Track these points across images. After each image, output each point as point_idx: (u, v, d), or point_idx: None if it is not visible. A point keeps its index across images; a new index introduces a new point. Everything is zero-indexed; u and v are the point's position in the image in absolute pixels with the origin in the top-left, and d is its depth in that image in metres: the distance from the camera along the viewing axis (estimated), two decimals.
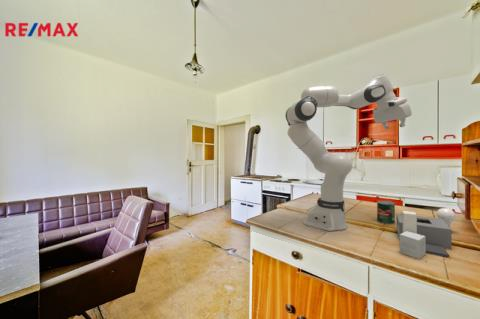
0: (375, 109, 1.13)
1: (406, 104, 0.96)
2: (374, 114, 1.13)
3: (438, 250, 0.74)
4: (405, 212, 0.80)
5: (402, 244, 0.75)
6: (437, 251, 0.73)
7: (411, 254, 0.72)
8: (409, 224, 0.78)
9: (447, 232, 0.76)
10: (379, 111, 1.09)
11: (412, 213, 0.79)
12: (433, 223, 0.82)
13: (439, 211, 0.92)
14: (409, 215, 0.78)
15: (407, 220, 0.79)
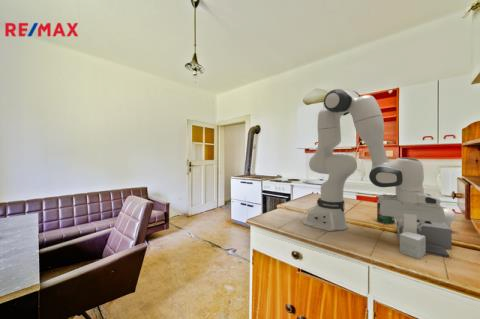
0: (385, 196, 0.84)
1: None
2: (384, 203, 0.83)
3: (438, 250, 0.74)
4: None
5: (402, 244, 0.75)
6: (437, 251, 0.73)
7: (411, 254, 0.72)
8: (409, 224, 0.78)
9: (447, 232, 0.76)
10: (396, 201, 0.81)
11: None
12: (433, 223, 0.82)
13: None
14: (409, 215, 0.78)
15: (407, 220, 0.79)
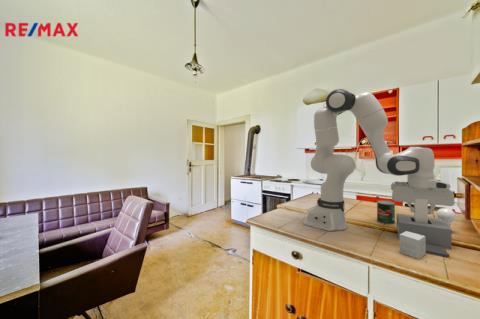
0: (397, 183, 0.90)
1: None
2: (397, 189, 0.89)
3: (438, 250, 0.74)
4: None
5: (402, 244, 0.75)
6: (437, 251, 0.73)
7: (411, 254, 0.72)
8: (420, 208, 0.84)
9: (447, 232, 0.76)
10: (408, 187, 0.86)
11: None
12: (433, 223, 0.82)
13: (439, 211, 0.92)
14: (420, 200, 0.84)
15: (419, 204, 0.85)
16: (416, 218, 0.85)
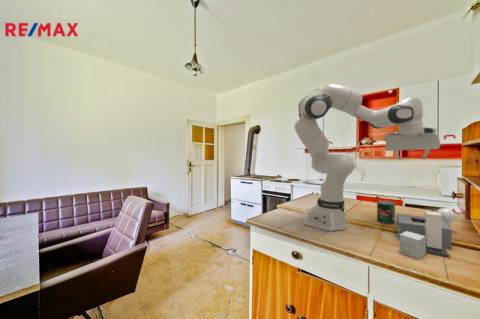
0: (390, 134, 0.99)
1: None
2: (389, 139, 0.98)
3: None
4: (428, 213, 0.76)
5: (402, 244, 0.75)
6: (437, 251, 0.73)
7: (411, 254, 0.72)
8: (433, 225, 0.74)
9: (447, 232, 0.76)
10: (399, 136, 0.96)
11: (436, 214, 0.74)
12: None
13: (439, 211, 0.92)
14: (433, 216, 0.74)
15: (431, 221, 0.74)
16: (428, 236, 0.75)
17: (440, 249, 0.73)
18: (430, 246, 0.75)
